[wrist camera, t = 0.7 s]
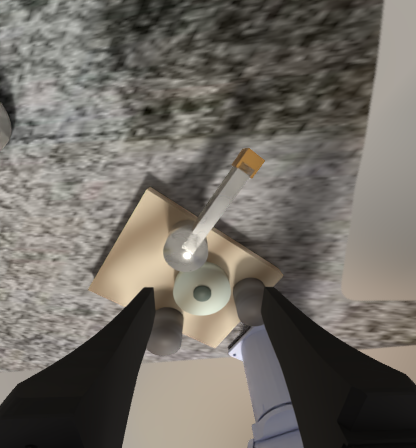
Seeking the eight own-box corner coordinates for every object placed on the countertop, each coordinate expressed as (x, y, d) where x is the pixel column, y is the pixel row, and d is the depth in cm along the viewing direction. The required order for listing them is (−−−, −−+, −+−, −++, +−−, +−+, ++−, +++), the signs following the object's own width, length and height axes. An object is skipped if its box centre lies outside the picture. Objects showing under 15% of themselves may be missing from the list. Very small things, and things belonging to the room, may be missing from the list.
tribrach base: (278, 268, 24) (296, 294, 20) (210, 342, 28) (212, 378, 23) (150, 186, 20) (136, 196, 15) (91, 287, 24) (66, 317, 19)
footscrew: (263, 167, 18) (276, 170, 15) (193, 261, 21) (192, 279, 18) (229, 140, 17) (236, 137, 14) (161, 242, 20) (154, 258, 17)
